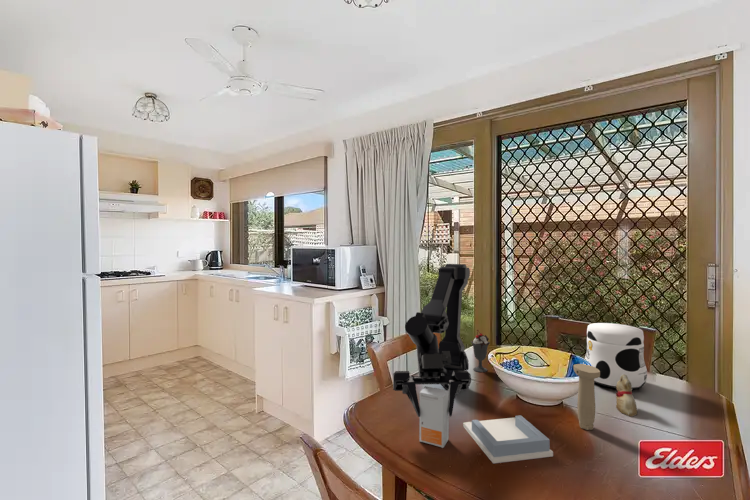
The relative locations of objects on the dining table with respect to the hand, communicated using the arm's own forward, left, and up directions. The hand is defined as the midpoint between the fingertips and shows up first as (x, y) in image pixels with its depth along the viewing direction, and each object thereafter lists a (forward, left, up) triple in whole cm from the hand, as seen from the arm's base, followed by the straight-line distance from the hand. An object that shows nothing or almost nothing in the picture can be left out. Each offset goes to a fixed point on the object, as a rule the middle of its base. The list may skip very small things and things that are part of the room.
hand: (434, 416), depth 88 cm
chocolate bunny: (-57, -2, -7) cm, 58 cm away
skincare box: (0, -1, -7) cm, 7 cm away
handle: (-39, +3, -7) cm, 40 cm away
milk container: (-70, -18, -7) cm, 73 cm away
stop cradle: (-16, +3, -7) cm, 18 cm away
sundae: (-35, -41, -7) cm, 54 cm away
